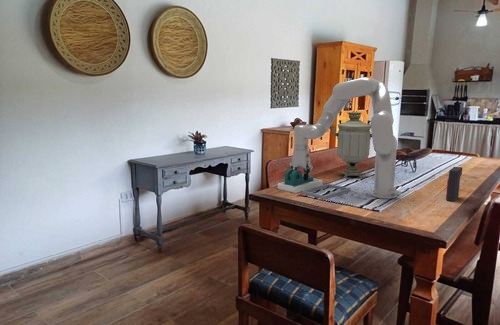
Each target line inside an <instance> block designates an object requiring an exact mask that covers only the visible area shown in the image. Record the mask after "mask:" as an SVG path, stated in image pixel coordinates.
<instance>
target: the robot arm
mask: <svg viewBox="0 0 500 325" xmlns="http://www.w3.org/2000/svg"><path fill="white" fill-rule="evenodd" d="M364 96H365V97H366V96H370V98H371V104H372V112H373V113H372V114H373V115H372V117H371V119H370V121H371V122H370V125H371V128H370V132H371V134H372V137H371V138H372V139H371V140H372V147H373V149H374V151H375V156H374V158H375V160H374V177H373V178H374V179H373V190H372V191H370V196H371V197H373V198H377V199H384V200H385V199H386V200H388V199H395V198H397V197H398V196H399V197H401V196H402V191H400V190H397V187H395V177H396V163H397V152H398V151H397V149H398V140H397V137H396V136H395V135H394V128H393V124H394V117H393V110H392V108H393V107H392V103H391V101H392V100H391V94H390V91H389V89H388V86H386V85H385V84H384V82H383V81H380V80H378V79H375V78H372V77H367V76H365V77H360V78H355V79H352V80H346V81H342V82H338V83H337V84H335V85H334V87H333V88H332V94H331V96H330V97H329V98H328V99H327V101H325V102H326V103H325V104H324V105H323V108H322V113H321V115H320V117H319V118H318V120H316V123H315V124H313V125H306V124H296V125H295V126H294V128H293V150H292V156H291V159H292V160H291V161H290V162H289V166H290V169H293V170H298V169H303V172H304V173H303V176H304V181H306V180H308V176H309V174H310V172H311V171H312V170H313V168H314V166H313V165H312V164H311V154H310V150H309V149H310V146H309V140H317V139H319V138H322V137H323V136H324V135H325V134H326V132H327V131H328V130H330V126H333V123H334V121H335V120H336V119H337V117H338V115H339V114H340V113H341V111H342V110H343V108H344V107H345V106H346V105H347V103H348V102H349V100H350V99H355V98H359V97H360V98H361V97H364ZM296 177H297V176H296Z"/></svg>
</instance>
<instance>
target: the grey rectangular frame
mask: <svg viewBox="0 0 500 325" xmlns="http://www.w3.org/2000/svg"><path fill="white" fill-rule="evenodd" d="M326 188H332V189H337V190H339V191H335V192H331V193H328V194H325V195H322V194H318V193H314V191H318V190H322V189H326ZM351 190H352V188H350V187H345V186H341V185H336V184H331V183H326V184H323V185H322V186H318V187H314V188H311V189H307V190H303V191H301V194H302V195H305V196H310V197H313V198H318V199H323V200H326V199H329V198H333V197H336V196H339V195H343V194H345V193H349V192H351Z"/></svg>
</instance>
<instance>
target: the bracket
mask: <svg viewBox="0 0 500 325" xmlns="http://www.w3.org/2000/svg"><path fill="white" fill-rule="evenodd" d="M296 176H297V177H296ZM313 179H314V175H308V180H306V181H304V175H303V172H302V171H301V170H298V169H297V170H293V169H292V168H288V169H286V171H285V172H284V182H285V184H287V185H291V186H296V185H300V184H304V183H309V182H313Z"/></svg>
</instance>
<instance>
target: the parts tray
mask: <svg viewBox="0 0 500 325" xmlns="http://www.w3.org/2000/svg"><path fill="white" fill-rule="evenodd" d="M323 182H324V181H323V179H319V178H318V179H317V178H313V182H309V183H304V184H300V185H296V186H291V185H287V184H285V181H283V182H278V183H277V189H278V190H281V191H283V192H284V191H285V192H289V193H294V194H297V193H299V192H301V193H302V191H303V190H307V189H311V188H314V187H318V186H322V185H324V184H323Z"/></svg>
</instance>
